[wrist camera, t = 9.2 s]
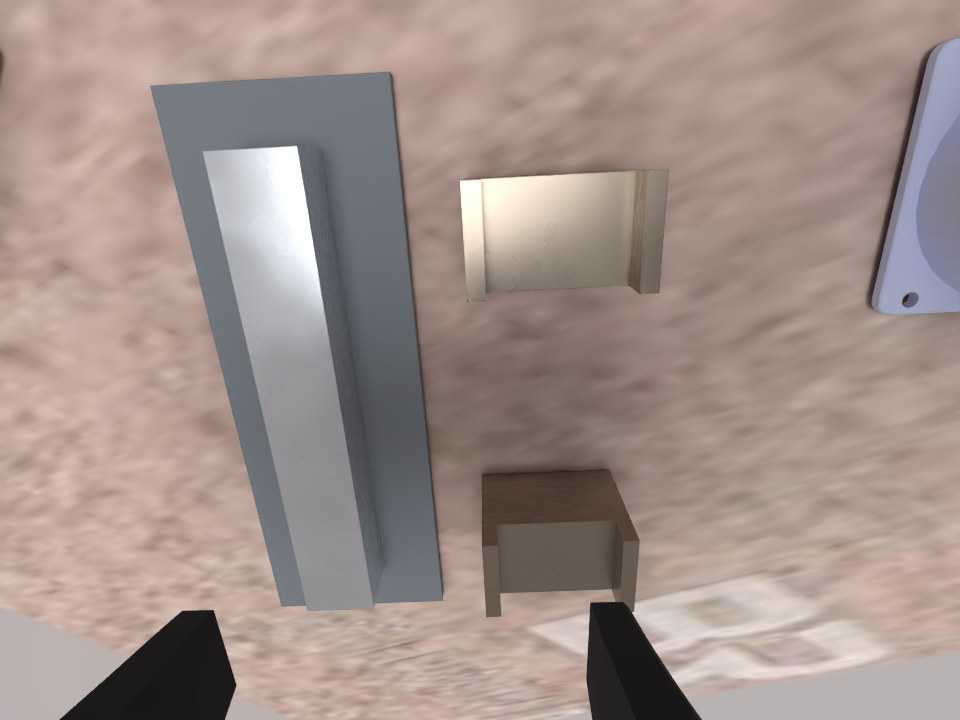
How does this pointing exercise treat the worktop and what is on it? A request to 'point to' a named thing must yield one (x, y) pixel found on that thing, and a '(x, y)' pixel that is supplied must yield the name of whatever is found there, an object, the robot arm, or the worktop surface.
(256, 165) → the rail
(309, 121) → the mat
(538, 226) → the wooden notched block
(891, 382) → the worktop surface
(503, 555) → the post
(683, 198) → the worktop surface
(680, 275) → the worktop surface
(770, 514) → the worktop surface
